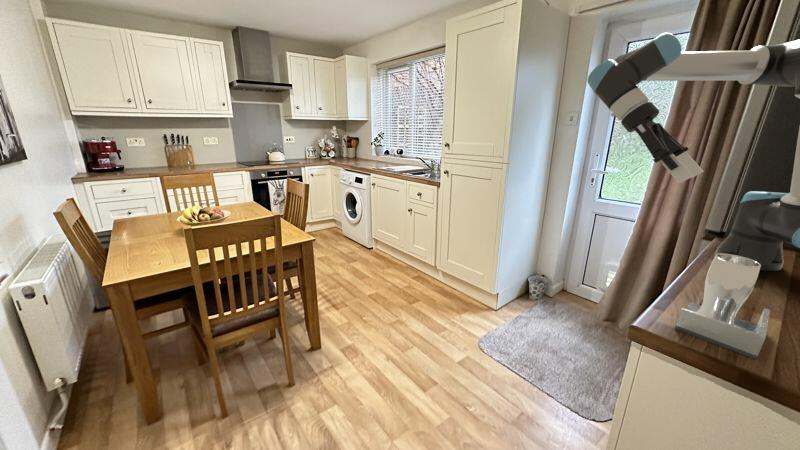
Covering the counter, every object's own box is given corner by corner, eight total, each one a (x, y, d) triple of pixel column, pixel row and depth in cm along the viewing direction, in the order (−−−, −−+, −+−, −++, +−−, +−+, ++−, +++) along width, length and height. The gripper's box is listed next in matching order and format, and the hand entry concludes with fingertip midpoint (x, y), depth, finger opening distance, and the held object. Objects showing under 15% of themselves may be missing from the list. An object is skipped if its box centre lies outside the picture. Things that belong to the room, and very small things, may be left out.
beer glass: (683, 313, 72) (704, 252, 68) (714, 314, 72) (738, 253, 67) (711, 332, 66) (736, 266, 61) (745, 333, 65) (774, 267, 61)
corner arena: (689, 304, 77) (695, 287, 76) (761, 329, 69) (770, 309, 67) (674, 328, 68) (681, 308, 67) (755, 359, 59) (765, 338, 58)
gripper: (635, 122, 93) (685, 181, 87) (603, 121, 78) (661, 192, 72) (662, 103, 88) (718, 164, 81) (633, 97, 72) (700, 171, 66)
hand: (692, 177), depth 76 cm, fingers open, 13 cm apart
